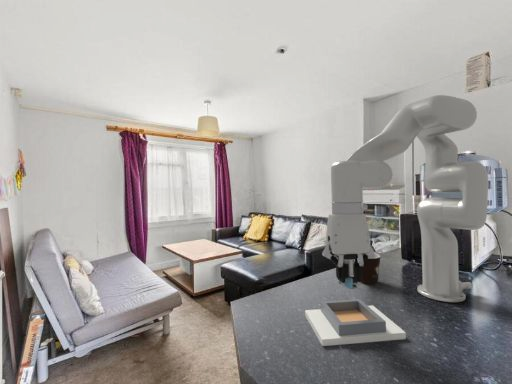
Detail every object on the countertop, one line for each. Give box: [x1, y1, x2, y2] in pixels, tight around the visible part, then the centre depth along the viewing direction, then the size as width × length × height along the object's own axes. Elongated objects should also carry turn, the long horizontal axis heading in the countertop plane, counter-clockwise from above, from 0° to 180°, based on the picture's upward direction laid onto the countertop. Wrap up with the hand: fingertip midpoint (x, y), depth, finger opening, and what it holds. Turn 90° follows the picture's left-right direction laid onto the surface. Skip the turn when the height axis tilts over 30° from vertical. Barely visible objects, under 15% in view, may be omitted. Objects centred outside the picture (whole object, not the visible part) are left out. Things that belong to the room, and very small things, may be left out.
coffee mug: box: [360, 253, 381, 286], centre depth 94 cm, size 12×9×10 cm
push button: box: [337, 254, 361, 290], centre depth 64 cm, size 7×5×10 cm
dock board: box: [304, 298, 407, 347], centre depth 64 cm, size 20×14×4 cm
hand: (348, 280), depth 64 cm, fingers closed on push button, 3 cm apart
